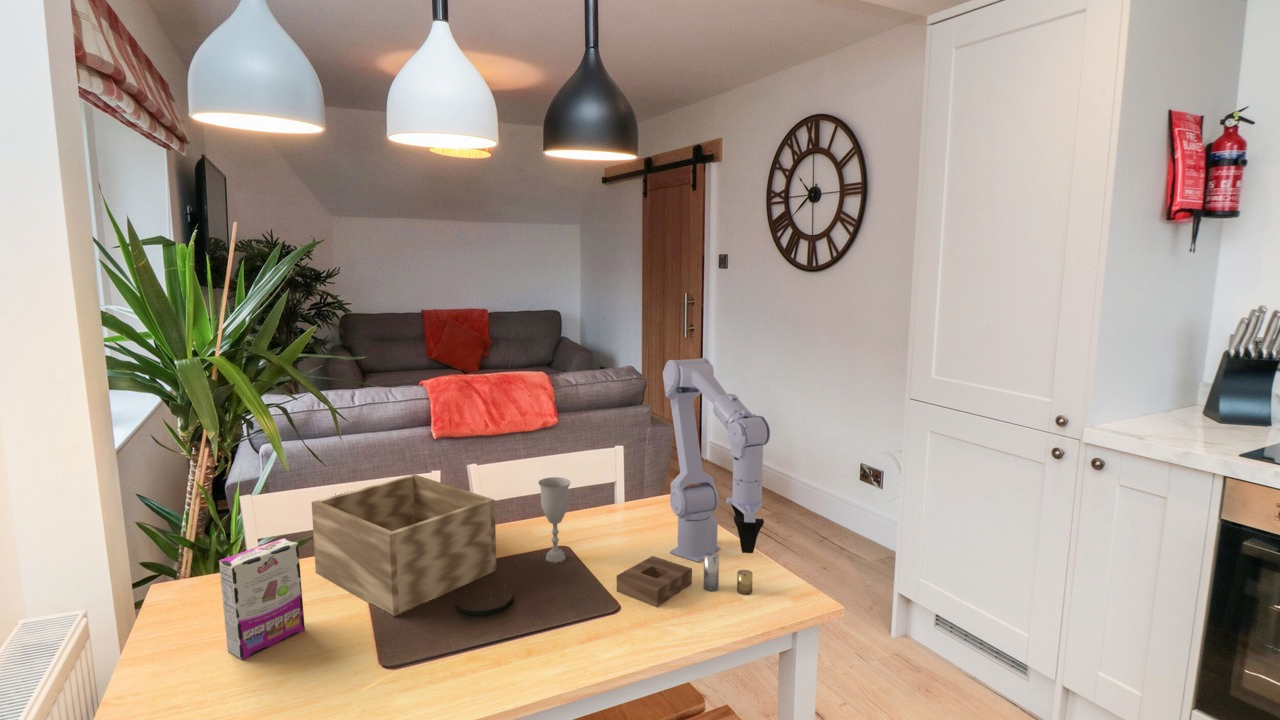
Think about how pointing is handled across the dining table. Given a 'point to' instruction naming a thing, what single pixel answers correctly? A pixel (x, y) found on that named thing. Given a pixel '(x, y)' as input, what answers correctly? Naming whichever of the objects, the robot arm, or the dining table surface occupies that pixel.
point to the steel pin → (711, 572)
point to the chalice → (554, 509)
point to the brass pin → (744, 582)
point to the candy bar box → (261, 597)
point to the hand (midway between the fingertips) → (745, 544)
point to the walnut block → (654, 581)
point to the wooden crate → (404, 541)
